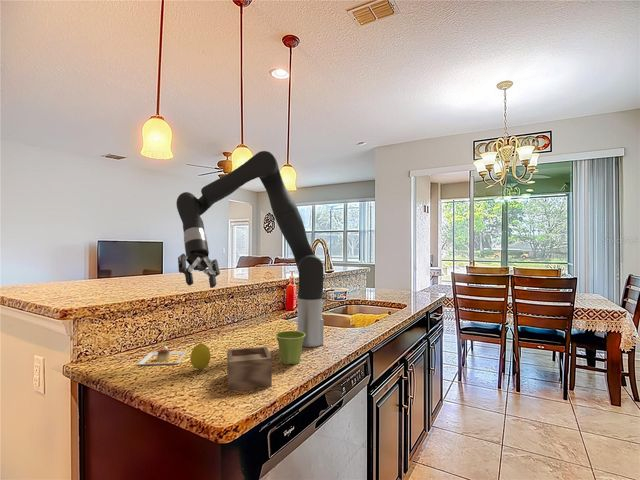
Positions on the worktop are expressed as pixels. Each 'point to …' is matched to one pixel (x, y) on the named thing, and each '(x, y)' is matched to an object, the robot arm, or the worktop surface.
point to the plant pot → (290, 346)
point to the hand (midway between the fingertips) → (202, 285)
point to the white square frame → (162, 356)
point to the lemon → (200, 356)
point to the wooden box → (249, 368)
